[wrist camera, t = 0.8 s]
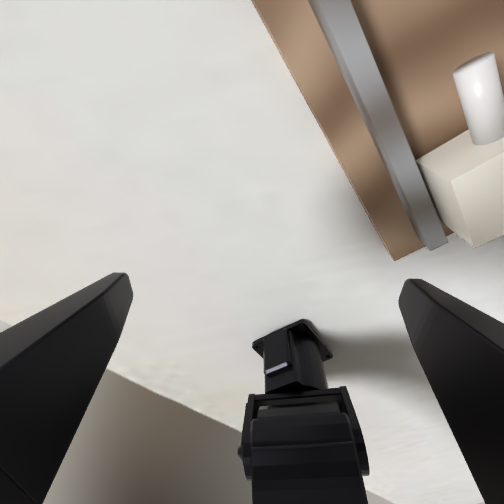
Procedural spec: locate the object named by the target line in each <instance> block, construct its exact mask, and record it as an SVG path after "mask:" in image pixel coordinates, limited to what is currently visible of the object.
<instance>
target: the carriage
mask: <svg viewBox="0 0 504 504" xmlns="http://www.w3.org/2000/svg"><path fill="white" fill-rule="evenodd" d="M453 77H454V81H455V84H456V88H457V91H458V94H459V98H460V101H461V105H462V108H463V112H464V115H465V118H466V122H467V125H468V130H467V131H465V132H463V133H462V134H460V135H458V136H456V137H455V138H453V139H451V140H450V141H448V142H446V143H445V144H443V145H441V146H439V147H438V148H436V149H434V150H433V151H431V152H429V153H428V154H426V155H424V156H422V157H421V158H419V159H417V160H416V161H415V162H416V164H417V167H418V169H419V172H420V174H421V176H422V179H423V181H424V184H425V186H426V189H427V191H428V194H429V196H430V199H431V201H432V204H433V206H434V209H435V211H436V214H437V216H438V219H439V220H440V221H441V222H442V223H443V224H445V225H446V226H447V227H448V228H450V229H451V230H452V231H453V232H455V233H456V234H457V235H458V236H459V237H461V238H462V239H463V240H464V241H466V242H467V243H468V244H469V245H471V246H472V247H473V248H476V247H478V246H481V245H483V244H485V243H487V242H489V241H492V240H494V239H496V238H498V237H501V236H503V235H504V96H503V91H502V87H501V82H500V78H499V73H498V69H497V64H496V59H495V55H494V52H487V53H484V54H481V55H479V56H476V57H474V58H472V59H470V60H469V61H467V62H465V63H464V64H462V65H461V66H459V67H458V68H457V69H455V70H454V72H453Z"/></svg>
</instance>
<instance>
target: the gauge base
mask: <svg viewBox="0 0 504 504" xmlns="http://www.w3.org/2000/svg"><path fill="white" fill-rule="evenodd" d="M251 1H252V3H253V4H254V6H255V8H256V10H257V12H258V14H259V15H260V17H261V19H262V21H263V23H264V25H265V26H266V28H267V30H268V32H269V34H270V36H271V38H272V39H273V41H274V43H275V45H276V47H277V49H278V50H279V52H280V54H281V56H282V58H283V60H284V61H285V63H286V65H287V67H288V69H289V71H290V73H291V74H292V76H293V78H294V80H295V82H296V84H297V85H298V87H299V89H300V91H301V93H302V95H303V96H304V98H305V100H306V102H307V104H308V106H309V108H310V109H311V111H312V113H313V115H314V117H315V119H316V120H317V122H318V124H319V126H320V128H321V130H322V131H323V133H324V135H325V137H326V139H327V141H328V143H329V144H330V146H331V148H332V150H333V152H334V154H335V155H336V157H337V159H338V161H339V163H340V165H341V166H342V168H343V170H344V172H345V174H346V176H347V178H348V179H349V181H350V183H351V185H352V187H353V189H354V190H355V192H356V194H357V196H358V198H359V200H360V202H361V203H362V205H363V207H364V209H365V211H366V213H367V214H368V216H369V218H370V220H371V222H372V224H373V225H374V227H375V229H376V231H377V233H378V235H379V237H380V238H381V240H382V242H383V244H384V246H385V248H386V249H387V251H388V253H389V254H390V255H391V257H392V258H393V259H394V261H396V260H398V259H400V258H402V257H404V256H406V255H408V254H410V253H412V252H414V251H416V250H419V249H421V248H423V247H425V246H426V247H427V248H428V249H429V250H430V251H431V250H433V249H435V248H438V247H440V246H442V245H444V244H446V243H448V241H447V238H446V236H448V235H450V234H452V233H454V232H453V231H452V230H451V229H450V228H448V227H447V226H446V225H445V224H443V223H442V222H441V221H440V220H439V219H438V216H437V214H436V211H435V209H434V206H433V204H432V201H431V199H430V196H429V194H428V191H427V189H426V186H425V184H424V181H423V179H422V176H421V174H420V172H419V169H418V167H417V164H416V162H415V161H416V160H417V159H419V158H421V157H422V156H424V155H426V154H428V153H429V152H431V151H433V150H434V149H436V148H438V147H439V146H441V145H443V144H445V143H446V142H448V141H450V140H451V139H453V138H455V137H456V136H458V135H460V134H462V133H463V132H465V131H467V130H468V125H467V122H466V118H465V115H464V112H463V108H462V105H461V101H460V98H459V94H458V91H457V88H456V84H455V81H454V77H453V72H454V70H455V69H457V68H458V67H459V66H461V65H462V64H464V63H465V62H467V61H469V60H470V59H472V58H474V57H476V56H479V55H481V54H484V53H487V52H494V55H495V59H496V64H497V69H498V73H499V78H500V82H501V87H502V91H503V96H504V0H251Z"/></svg>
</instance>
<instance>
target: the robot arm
mask: <svg viewBox="0 0 504 504" xmlns="http://www.w3.org/2000/svg"><path fill="white" fill-rule="evenodd" d="M132 300H133V291H132V287H131V284H130V280H129V277H128V275H127V274H126V273H112V274H110V275H108V276H106V277H104V278H102V279H100V280H98V281H97V282H95V283H93V284H91V285H89V286H87V287H85V288H83V289H82V290H80V291H78V292H76V293H74V294H72V295H70V296H68V297H67V298H65V299H63V300H61V301H59V302H57V303H55V304H53V305H52V306H50V307H48V308H46V309H44V310H42V311H40V312H38V313H37V314H35V315H33V316H31V317H29V318H27V319H25V320H23V321H22V322H20V323H18V324H16V325H14V326H12V327H10V328H8V329H7V330H5V331H3V332H1V333H0V504H42V503H43V501H44V499H45V497H46V495H47V492H48V491H49V489H50V487H51V484H52V482H53V480H54V478H55V476H56V474H57V471H58V469H59V467H60V465H61V463H62V461H63V459H64V457H65V454H66V452H67V450H68V448H69V446H70V444H71V442H72V440H73V437H74V435H75V433H76V431H77V429H78V427H79V425H80V422H81V420H82V418H83V416H84V414H85V412H86V410H87V407H88V405H89V403H90V401H91V399H92V397H93V395H94V392H95V390H96V388H97V386H98V384H99V382H100V380H101V377H102V375H103V373H104V371H105V369H106V367H107V365H108V363H109V360H110V358H111V356H112V354H113V352H114V350H115V348H116V345H117V343H118V341H119V338H120V335H121V333H122V330H123V327H124V324H125V321H126V318H127V315H128V312H129V309H130V306H131V303H132ZM399 307H400V310H401V313H402V316H403V319H404V322H405V325H406V328H407V331H408V334H409V337H410V340H411V343H412V346H413V348H414V351H415V353H416V355H417V357H418V359H419V362H420V364H421V366H422V368H423V370H424V372H425V375H426V377H427V379H428V381H429V383H430V385H431V387H432V390H433V392H434V394H435V396H436V398H437V400H438V402H439V405H440V407H441V409H442V411H443V413H444V415H445V418H446V420H447V422H448V424H449V426H450V428H451V430H452V433H453V435H454V437H455V439H456V441H457V443H458V445H459V448H460V450H461V452H462V454H463V456H464V458H465V461H466V463H467V465H468V467H469V469H470V471H471V473H472V476H473V478H474V480H475V482H476V484H477V486H478V489H479V491H480V493H481V495H482V497H483V499H484V501H485V504H504V323H502V322H500V321H498V320H496V319H494V318H492V317H491V316H489V315H487V314H485V313H483V312H481V311H479V310H478V309H476V308H474V307H472V306H470V305H468V304H466V303H465V302H463V301H461V300H459V299H457V298H455V297H453V296H452V295H450V294H448V293H446V292H444V291H442V290H441V289H439V288H437V287H435V286H433V285H431V284H429V283H428V282H426V281H424V280H422V279H407V280H406V281H405V283H404V286H403V288H402V291H401V294H400V297H399ZM252 348H253V349H254V350H255V351H256V352H257V353H258V354H259V355H260V356H261V357H262V358H263V359H264V374H265V394H258V395H255V394H249V397H248V403H246V410H245V417H244V424H243V430H242V436H241V439H240V443H239V446H238V456H239V457H240V459H241V460H242V461H243V465H244V470H245V475H246V478H247V480H248V481H252V499H253V504H368V501H367V496H366V491H365V487H364V482H363V477H362V476H368V475H369V463H368V457H367V452H366V447H365V443H364V439H363V435H362V431H361V428H360V425H359V422H358V419H357V416H356V413H355V411H354V408H353V405H352V402H351V399H350V396H349V393H348V391H347V388H346V386H340V388H330V389H328V384H327V380H326V375H325V371H324V366H323V361H326V360H329V359H331V358H332V357H333V355H332V352H331V351H330V349H329V348H328V347H327V346H326V345H325V343H324V342H323V341H322V340H321V339H320V338H319V336H318V335H317V334H316V333H315V332H314V331H313V329H312V328H311V327H310V326H309V325H308V323H307V322H306V321H304V320H300V321H297V322H295V323H293V324H291V325H289V326H287V327H284V328H282V329H280V330H278V331H276V332H274V333H271V334H269V335H267V336H265V337H263V338H261V339H259V340H256V341H254V342H253V343H252Z"/></svg>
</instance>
